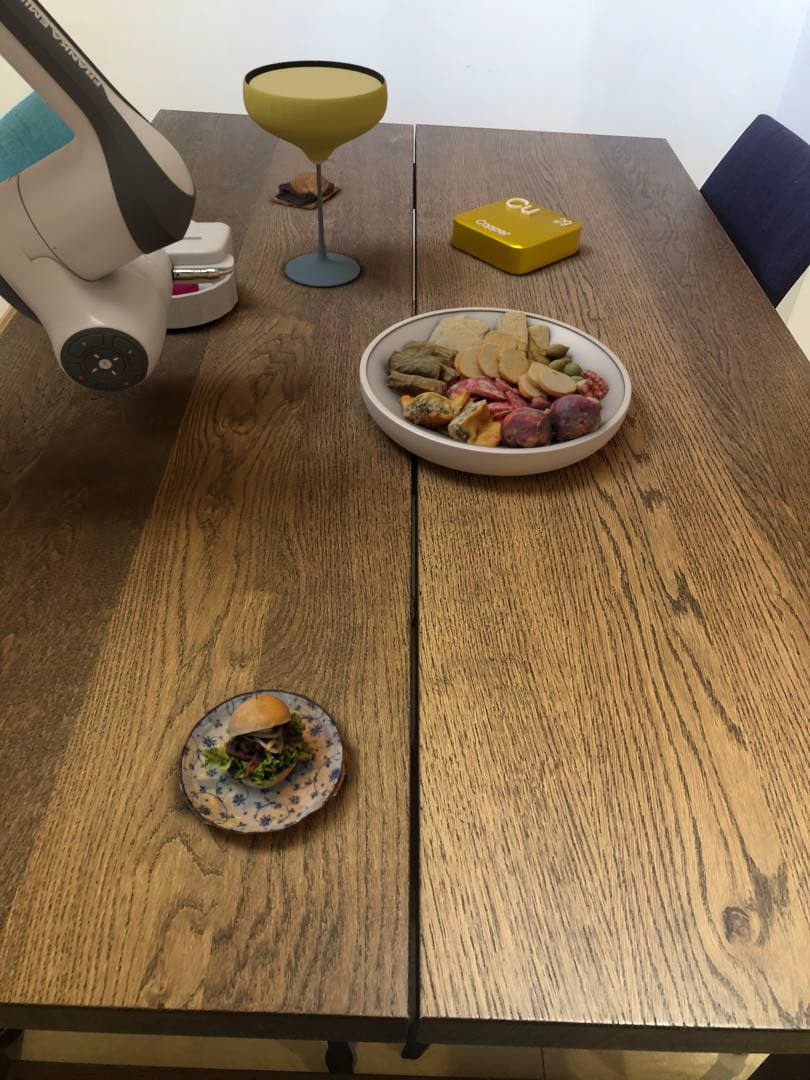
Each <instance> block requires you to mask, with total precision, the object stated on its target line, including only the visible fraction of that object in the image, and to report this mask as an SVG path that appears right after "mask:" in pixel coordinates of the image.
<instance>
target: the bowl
mask: <svg viewBox="0 0 810 1080" xmlns="http://www.w3.org/2000/svg"><path fill="white" fill-rule="evenodd" d="M359 386H360V387H359V388H360V393H361V396H362V400H363V402H364V405H365V407H366V409H367V411H368V413H369V414H370V416H371V417H372V419H373V421H374V422H375V423H376V424H377V426H378V427H379V428H380V429H381V430H382V431H383V432H384V433H385V434H386V435H387V436H388V437H389V438H390V439H392V440H393V441H394V442H395V443H396V444H398V445H399V446H401V447H402V448H403V449H405V450H406V451H409V452H410V453H412V454H414V455H415V456H418V457H420V458H421V459H424V460H426V461H429V462H432V463H434V464H436V465H439V466H442V467H444V468H449V469H452V470H456V471H460V472H464V473H470V474H476V475H483V476H495V477H497V476H498V477H508V476H509V477H514V476H515V477H517V476H529V475H538V474H543V473H548V472H552V471H556V470H559V469H563V468H566V467H568V466H570V465H573V464H577V463H578V462H581V461H582V460H584V459H586V458H588V457H589V456H591V455H593V454H594V453H596V452H597V451H598V450H600V449H601V448H602V447H603V446H605V445H606V444H607V443H608V442H609V441H610V440H611V439H612V438H613V436H614V435H615V434H616V433H617V432H618V430H619V429H620V427H621V426H622V424H623V423H624V420H625V419H626V416H627V414H628V410H629V407H630V404H631V401H632V400H631V399H632V389H633V388H632V381H631V378H630V375H629V373H628V370H627V369H626V367H625V365H624V364H623V361H621V360H620V358H619V357H618V356H617V355H616V354H615V352H613V351H612V350H611V349H610V348H609V347H608V346H606V345H605V344H604V343H603V342H601V341H600V340H599V339H597V338H595V337H594V336H592V335H591V334H589V333H587V332H585V331H584V330H581V329H579V328H577V327H575V326H573V325H571V324H568V323H566V322H563V321H561V320H558V319H556V318H551V317H548V316H545V315H542V314H537V313H533V312H527V311H523V310H518V309H511V308H502V307H485V306H468V307H467V306H466V307H454V308H445V309H439V310H434V311H428V312H425V313H420V314H418V315H414V316H411V317H409V318H405V319H404V320H402V321H401V320H400V321H399V322H396V323H395V324H393V325H391V326H389V327H387V328H386V329H384V330H383V331H382V332H381V333H379V334H378V335H377V336H376V337H374V339H372V340H371V342H370V343H369V344H368V346H367V347H366V348H365V350H364V352H363V354H362V356H361V360H360V363H359Z"/></svg>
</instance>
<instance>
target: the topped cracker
mask: <svg viewBox="0 0 810 1080" xmlns="http://www.w3.org/2000/svg"><path fill="white" fill-rule="evenodd" d="M321 183H322V204H323V202H324V201H325V200H328V199H329V198H331V197H332V196H333V195H334V194H335V193H336V192H337V191H338V190H339V186H338V184H337V183H334V182H330V181H329V179H327V178H326V177H325V176H324V175H322V174H321ZM277 187H278V191H279V192H278V193H277V194H276V195H275V196H274V197H273V199H272V201H273V203H274V202H275V203H276V204H279V203H280V204H282V205H285V206H293V207H294V208H302V209H307V210H312V209H315V208H316V207H318V195H317V171H310V170H306V171H303V172H301V173H298V174H297V175H295V176H293V178H291V179H290V180H289V181H288V182H285V183H280V184H278V186H277Z"/></svg>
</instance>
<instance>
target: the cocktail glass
mask: <svg viewBox="0 0 810 1080" xmlns="http://www.w3.org/2000/svg"><path fill="white" fill-rule="evenodd" d="M388 93H389V92H388V85H387V80H386V78H385V76H384V75H383V74H381V73H380V71H379V72H378V71H377V70H375V69H372V68H369V67H368V66H364V65H360V64H355V63H350V62H342V61H333V60H317V59H316V60H314V59H313V60H312V59H309V60H308V59H307V60H305V59H304V60H290V61H289V60H287V61H281V62H274V63H268V64H265V65H261V66H258V67H255V68H253V69H251V70H250V71H248V72H247V73H246V74H245V75H244V77H243V80H242V99H243V104H244V108H245V111H246V113H247V115H248V116H249V118H250V119H251V120H252V121H253V122H254V123H255V124H256V125H257V126H259V127H260V128H261V129H262V130H263V131H265V132H267V133H269V134H270V135H272V136H274V137H275V138H277V139H280V140H282V141H285V142H286V143H289V144H292V145H293V146H296V147H297V148H298V149H300V150H301V151H302V152H303V153H304V155H305V156H306V158H307V159H308V160H309V161H310V162H311V163H312V164H314V165H316V166H315V167H316V169H315V170H316V171H315V172H317V195H318V205H317V222H318V226H317V229H318V242H317V243H318V245H317V252H311V253H305V254H301V255H299V256H297V257H294V258H292V259H291V260H289V261H288V262H287V263H286V265H285V267H284V271H285V275H286V276H287V277H288V278H289V279H290V280H291V281H293V282H294V283H296V284H299V285H303V286H307V287H314V288H330V287H331V288H332V287H338V286H342V285H345V284H348V283H351V282H352V281H353V280H355V279H356V278H357V277H358V276H359V274H360V271H361V267H360V265H359V263H358V262H357V261H356V260H354V259H353V258H351V257H349V256H347V255H344V254H339V253H334V252H327V249H326V241H325V230H324V228H325V227H324V211H323V209H324V207H323V203H322V183H321V175H322V165H324V164H325V163H326V162H327V161H328V160H329V158H330V157H331V155H332V153H333V152H334V151H335V150H336V149H337V148H340V147H341V146H342V145H344V144H346V143H349V142H351V141H353V140H355V139H358V138H359V137H361V136H363V135H365V134H366V133H368V132H370V131H371V130H372V129H373V128H374V127H376V126H377V125H378V124H379V123H380V122H381V121H382V119H383V118H384V116H385V114H386V112H387V108H388V98H389V97H388V96H389V95H388Z"/></svg>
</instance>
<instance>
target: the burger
mask: <svg viewBox="0 0 810 1080" xmlns="http://www.w3.org/2000/svg"><path fill="white" fill-rule="evenodd" d="M253 684H254V685H253V687H254V690H252V691H247V692H242V693H239V694H236V695H234V696H231V697H230V698H227V699H226V700H223V701H222V702H220V703H218V704H217V705H216V706H214V707H212V708H211V709H210V710H208V711H207V712H206V713H205V714H204V715H203V716H202V717H201V718H200V719H199V720H197V722H196V723H195V724H194V726H193V727H192V728H191V730H190V731H189V733H188V735H187V737H186V740H185V742H184V744H183V745H182V746H183V747H182V749H181V751H180V754H179V761H178V778H179V788H180V793H181V799H182V801H183V804H184V805H186V806H187V807H188V809H189V810H190V811H191V813H192V814H193V815H194V817H196V818H197V819H198V820H199V821H200V822H201V823H203V824H206V825H210V826H213V827H216V828H219V829H221V830H223V831H225V832H228V833H233V834H240V835H243V834H244V835H256V834H257V835H258V834H263V833H271V832H281V831H284V830H288V829H289V828H292V827H294V826H295V825H297V824H298V823H299V822H301V821H302V820H304V819H305V818H307V817H309V816H310V815H311V814H313V813H314V812H317V811H319V810H320V809H322V808H323V807H324V806H325V805H326V803H327V802H328V801H329V800H330V799H331V798H333V797H336V796H337V794H338V792H339V791H340V789H341V787H342V785H343V782H344V780H345V776H348V775H349V758H348V752H347V743H346V737H345V734H344V732H343V731H342V730H341V728H340V726H339V723H338V722H337V721H336V719H334V717H333V715H331V713H330V712H328V711H327V710H326V709H325V708H324V707H323V706H322V705H320V704H319V703H317V702H316V701H314V699H311V698H310V697H308V696H306V695H304V694H301V693H297V692H293V691H288V690H284V689H259V688H258V689H257V684H256V677H255V676H253Z"/></svg>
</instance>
